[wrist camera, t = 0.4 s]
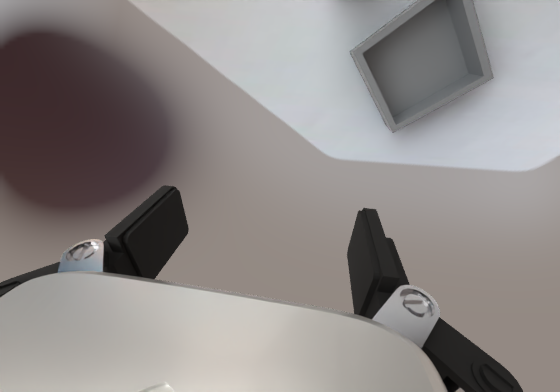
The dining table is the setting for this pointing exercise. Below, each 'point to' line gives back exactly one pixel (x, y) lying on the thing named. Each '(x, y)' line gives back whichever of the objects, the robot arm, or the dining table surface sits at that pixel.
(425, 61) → the box
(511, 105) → the dining table surface
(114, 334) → the robot arm
